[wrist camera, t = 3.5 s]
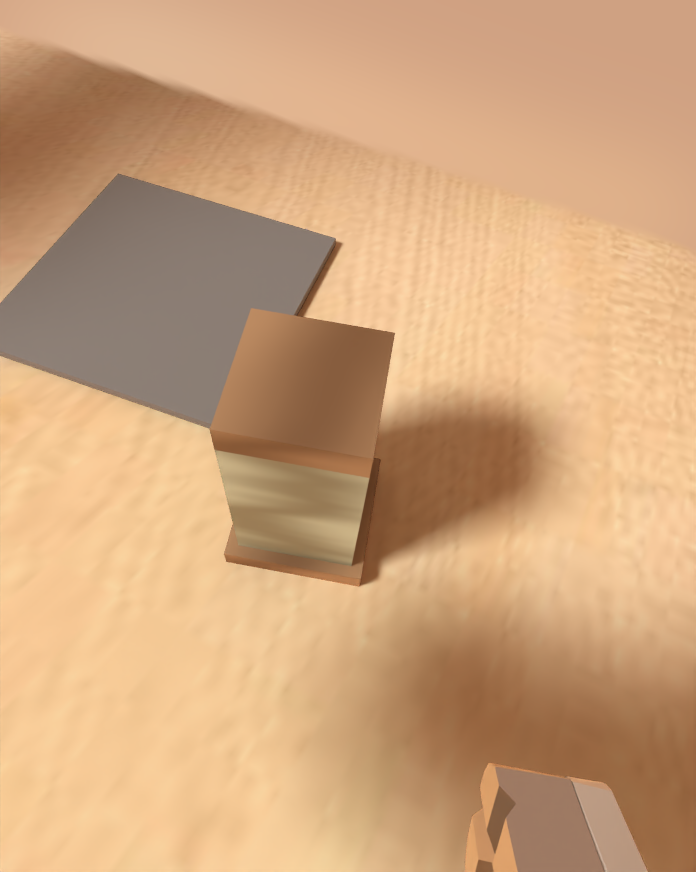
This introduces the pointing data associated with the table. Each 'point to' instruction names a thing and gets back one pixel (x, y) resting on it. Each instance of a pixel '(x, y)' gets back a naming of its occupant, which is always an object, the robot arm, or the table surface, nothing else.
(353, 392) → the banded square pillar
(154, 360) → the mat
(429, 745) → the table surface
